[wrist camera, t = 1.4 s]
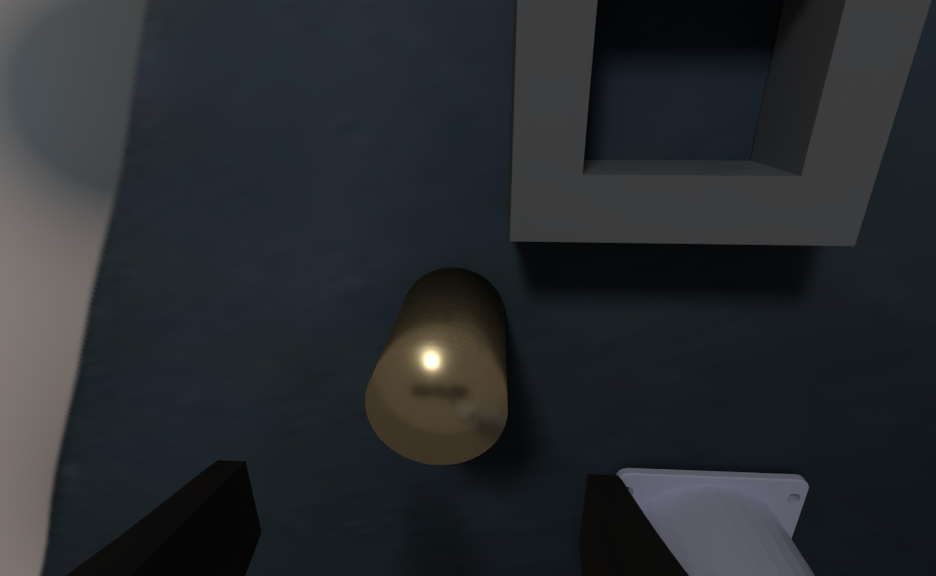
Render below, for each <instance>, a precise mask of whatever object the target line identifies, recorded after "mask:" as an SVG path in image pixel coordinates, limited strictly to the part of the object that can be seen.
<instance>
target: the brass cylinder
mask: <svg viewBox="0 0 936 576" xmlns="http://www.w3.org/2000/svg"><path fill="white" fill-rule="evenodd" d="M365 406H366V412H367V416H368V419H369V422H370V424H371V426H372V428H373V430H374V431H375V433H376V434H377V436H378V437H379V438H380V439H381V440H382V441H383V442H384V443H385V444H386V445H387V446H388V447H389V448H391V449H392V450H394V451H395V452H397V453H398V454H400V455H402V456H404V457H406V458H409V459H411V460H414V461H417V462H421V463H426V464H433V465H450V464H457V463H461V462H465V461H468V460H471V459H473V458H475V457H477V456H479V455H481V454H482V453H484V452H485V451H487V450H488V449H489V448H490V447H491V446H492V445H493V444H494V443H495V442H496V441H497V440H498V438H499V437H500V435H501V434H502V431H503V429H504V427H505V424H506V420H507V414H508V401H507V366H506V331H505V309H504V304H503V301H502V298H501V296H500V294H499V293H498V291H497V290H496V288H495V287H494V286H493V285H492V284H491V283H490V282H489V281H488V280H487V279H486V278H484V277H482V276H481V275H479V274H477V273H475V272H473V271H470V270H467V269H462V268H443V269H438V270H435V271H432V272H430V273H428V274H426V275H424V276H423V277H421V278H420V279H419V280H418V281H416V283H415V284H414V285H413V286H412V287H411V289H410V290H409V292H408V294H407V296H406V298H405V301H404V303H403V305H402V308H401V310H400V312H399V315H398V317H397V319H396V322H395V324H394V326H393V328H392V331H391V333H390V335H389V338H388V340H387V342H386V345H385V347H384V349H383V352H382V354H381V356H380V359H379V361H378V363H377V366H376V368H375V370H374V372H373V375H372V377H371V379H370V382H369V384H368V387H367V391H366V398H365Z"/></svg>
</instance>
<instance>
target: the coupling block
mask: <svg viewBox="0 0 936 576" xmlns="http://www.w3.org/2000/svg"><path fill="white" fill-rule="evenodd" d="M930 3H931V0H784V3H783V8H782V13H781V18H780V22H779V27H778V32H777V36H776V41H775V46H774V50H773V55H772V60H771V65H770V69H769V74H768V79H767V83H766V88H765V93H764V97H763V102H762V107H761V112H760V116H759V121H758V126H757V130H756V135H755V140H754V145H753V149H752V154H751V159H750V161H741V160H584V152H585V140H586V129H587V117H588V105H589V94H590V82H591V70H592V59H593V47H594V35H595V24H596V12H597V0H514V27H513V62H512V96H511V131H510V165H509V200H508V223H509V237H510V241H524V242H595V243H666V244H737V245H809V246H855V243H856V240H857V237H858V234H859V230H860V227H861V224H862V221H863V218H864V214H865V211H866V208H867V205H868V202H869V198H870V195H871V192H872V189H873V186H874V182H875V179H876V176H877V173H878V170H879V166H880V163H881V160H882V157H883V154H884V150H885V147H886V144H887V141H888V138H889V134H890V131H891V128H892V125H893V122H894V118H895V115H896V112H897V109H898V106H899V102H900V99H901V96H902V93H903V90H904V86H905V83H906V80H907V77H908V74H909V70H910V67H911V64H912V61H913V58H914V54H915V51H916V48H917V45H918V42H919V38H920V35H921V32H922V29H923V26H924V22H925V19H926V16H927V13H928V10H929V6H930Z"/></svg>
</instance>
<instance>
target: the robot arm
mask: <svg viewBox="0 0 936 576" xmlns="http://www.w3.org/2000/svg"><path fill="white" fill-rule="evenodd" d="M627 487H630V488H629V489H628V488H627ZM808 488H809V485H808V483H807V482H806V481H805V479H804V478H803V477H802V476H800V475H796V474H772V473H746V472H720V471H693V470H667V469H641V468H624V469H621V470H619V471H618V472H617V473H616V475H595V474H588V476H587V484H586V492H585V500H584V509H583V517H582V525H581V533H580V542H579V551H580V559H581V568H582V576H815V575H814V574H813V572H812V571H811V569H810V567H809V566H808V564H807V563H806V561H805V560H804V558H803V557H802V555H801V553H800V552H799V550H798V549H797V547H796V546H795V544H794V543H793V541H792V536H793V533H794V530H795V527H796V524H797V521H798V518H799V515H800V512H801V509H802V507H803V504H804V501H805V498H806V495H807V492H808ZM792 494H793V495H792ZM790 495H791V496H790ZM260 534H261V528H260V524H259V519H258V515H257V510H256V506H255V501H254V497H253V492H252V488H251V483H250V479H249V475H248V470H247V466H246V461H222V460H218V461H216V462H215V463H214V464H212V465H211V466H209V467H208V468H207V469H205V470H204V471H203V472H202V473H200V474H199V475H198V476H196V477H195V478H194V479H192V480H191V481H190V482H189V483H187V484H186V485H185V486H184V487H182V488H181V489H180V490H179V491H177V492H176V493H175V494H173V495H172V496H171V497H170V498H168V499H167V500H166V501H165V502H163V503H162V504H161V505H160V506H158V507H157V508H156V509H154V510H153V511H152V512H151V513H149V514H148V515H147V516H145V517H144V518H143V519H141V520H140V521H139V522H138V523H136V524H135V525H134V526H132V527H131V528H130V529H129V530H127V531H126V532H125V533H123V534H122V535H121V536H120V537H118V538H117V539H116V540H114V541H113V542H112V543H110V544H109V545H107V546H106V547H105V548H103V549H102V550H101V551H99V552H98V553H96V554H95V555H94V556H92V557H91V558H89V559H88V560H87V561H85V562H84V563H83V564H81V565H80V566H78V567H77V568H76V569H74V570H73V571H72V572H70V573H69V574H67V575H66V576H245V574H246V572H247V569H248V567H249V564H250V562H251V559H252V556H253V554H254V551H255V548H256V545H257V543H258V540H259V537H260Z"/></svg>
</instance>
